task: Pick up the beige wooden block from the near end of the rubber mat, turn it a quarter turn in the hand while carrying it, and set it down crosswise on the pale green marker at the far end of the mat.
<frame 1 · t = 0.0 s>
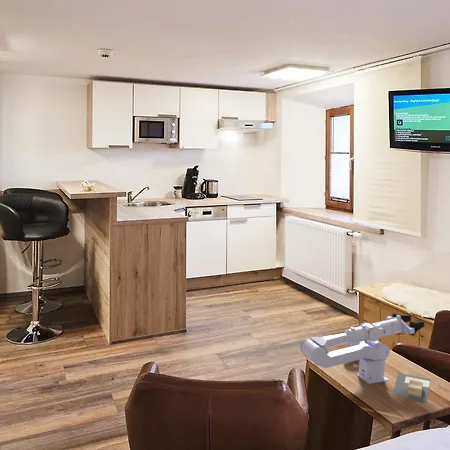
hand: (416, 320, 193), 22 cm above the table, tool horizontal, fingers open, 7 cm apart
mat: (411, 387, 182), on the table
beige wooden block: (415, 391, 179), resting on mat
donut: (354, 360, 207), on the table
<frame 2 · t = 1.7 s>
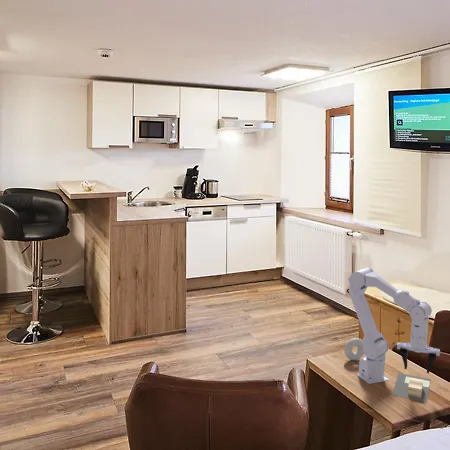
hand: (416, 370, 177), 9 cm above the table, tool pointing down, fingers open, 7 cm apart
nothing on the table moved.
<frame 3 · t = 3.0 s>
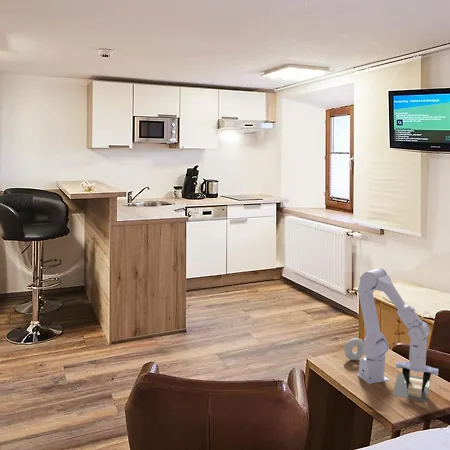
hand: (415, 389, 179), 1 cm above the table, tool pointing down, fingers closed on beige wooden block, 4 cm apart
beige wooden block: (415, 391, 179), resting on mat, touching gripper
everything else where it was.
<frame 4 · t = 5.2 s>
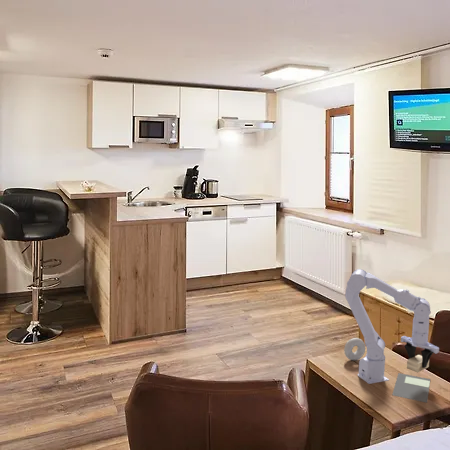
hand: (418, 364, 183), 8 cm above the table, tool pointing down, fingers closed on beige wooden block, 4 cm apart
beige wooden block: (417, 367, 183), point 7 cm above the table, touching gripper
everything else where it was.
when the fingers open (2 cm above the table, at t = 7.3 s): beige wooden block stays where it is, resting on mat.
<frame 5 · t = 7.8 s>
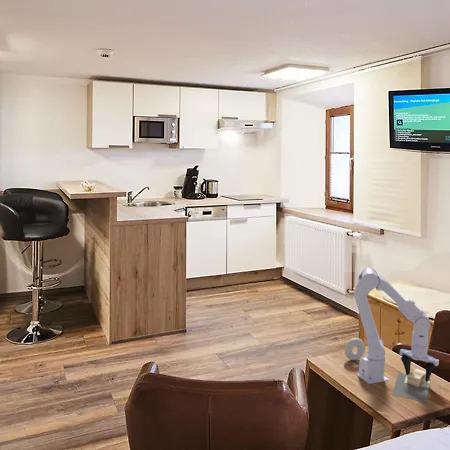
hand: (417, 377, 186), 2 cm above the table, tool pointing down, fingers open, 7 cm apart
beige wooden block: (417, 381, 186), resting on mat
everything else where it was.
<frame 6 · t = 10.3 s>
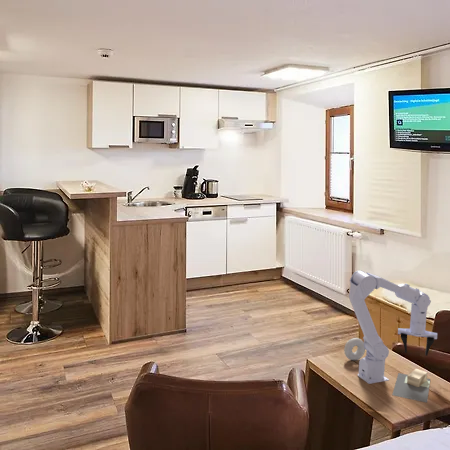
hand: (416, 353, 191), 9 cm above the table, tool pointing down, fingers open, 7 cm apart
nothing on the table moved.
at the end: beige wooden block 0.1 cm from the target spot on the mat, point 0.5 cm above the mat's base; beige wooden block tilted 0°; the gripper is holding nothing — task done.
